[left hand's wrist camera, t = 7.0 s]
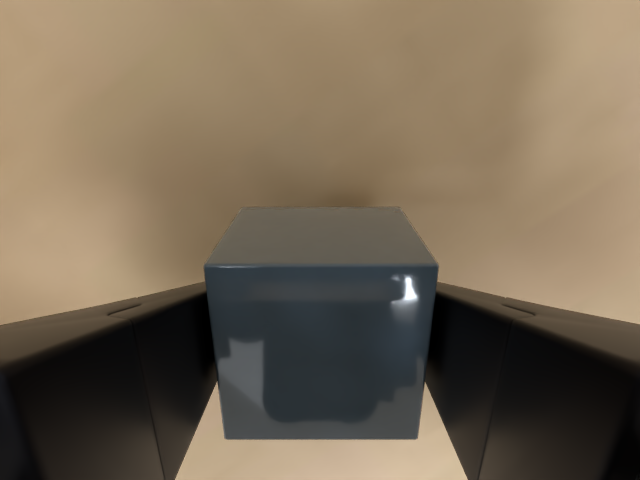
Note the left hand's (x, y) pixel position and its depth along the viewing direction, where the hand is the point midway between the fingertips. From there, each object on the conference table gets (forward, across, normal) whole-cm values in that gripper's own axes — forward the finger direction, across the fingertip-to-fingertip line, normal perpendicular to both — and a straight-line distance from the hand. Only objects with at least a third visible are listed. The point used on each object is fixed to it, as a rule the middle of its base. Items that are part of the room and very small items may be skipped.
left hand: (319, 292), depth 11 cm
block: (+1, 0, 0) cm, 1 cm away
